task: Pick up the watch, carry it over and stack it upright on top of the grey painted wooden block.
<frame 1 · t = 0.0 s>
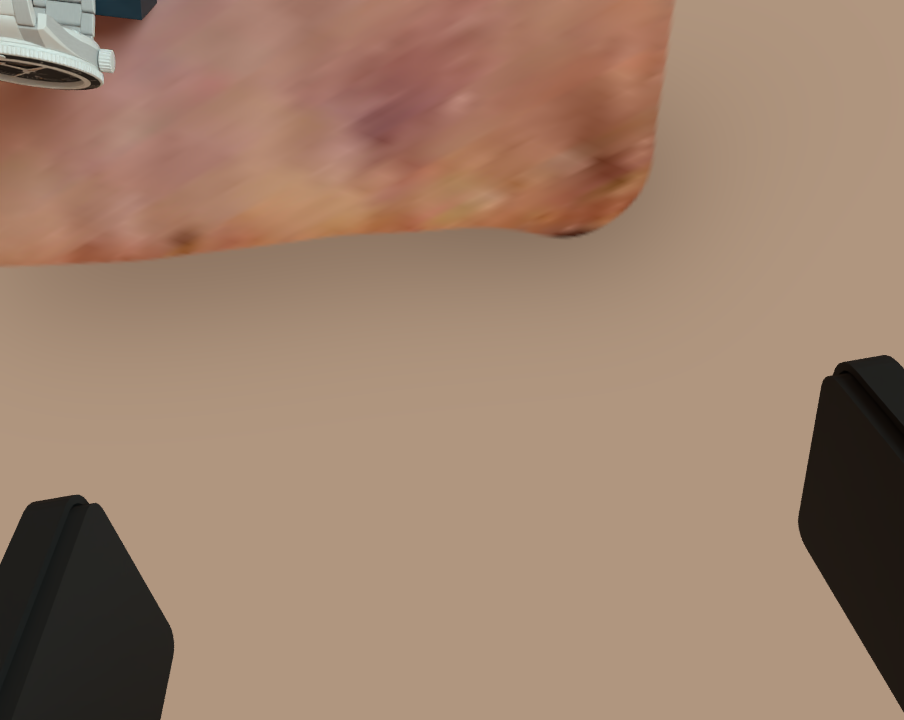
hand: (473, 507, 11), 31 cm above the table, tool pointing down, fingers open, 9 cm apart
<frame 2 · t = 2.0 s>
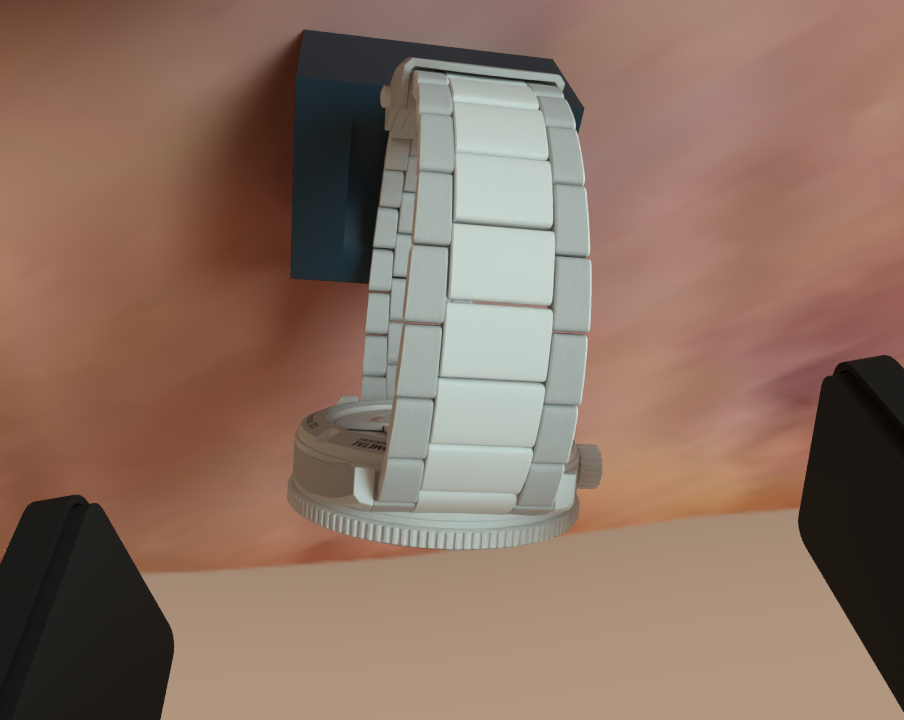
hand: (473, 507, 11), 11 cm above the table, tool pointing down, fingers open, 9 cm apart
watch: (420, 140, 19), on the table
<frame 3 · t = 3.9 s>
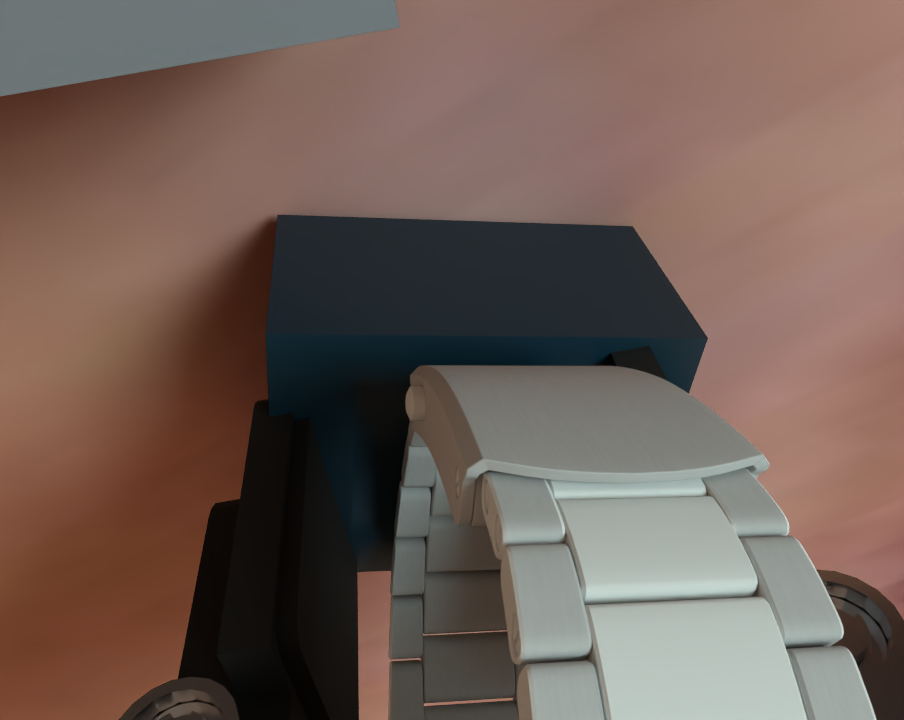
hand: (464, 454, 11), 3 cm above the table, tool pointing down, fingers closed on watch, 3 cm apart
watch: (448, 335, 14), on the table, touching gripper
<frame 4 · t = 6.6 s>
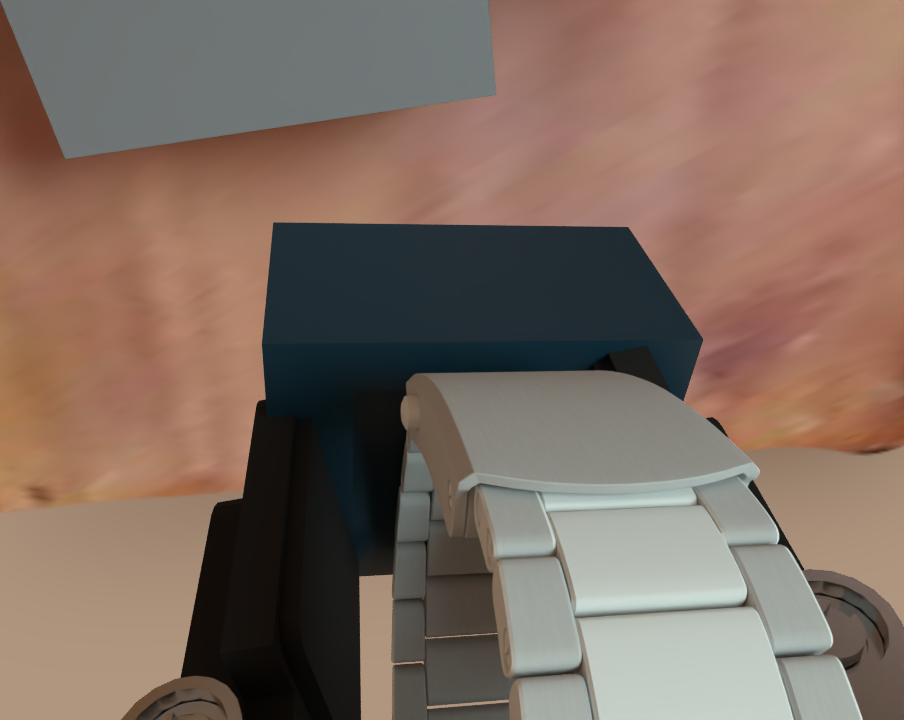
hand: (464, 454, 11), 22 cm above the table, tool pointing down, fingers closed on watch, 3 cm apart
watch: (446, 338, 14), point 19 cm above the table, touching gripper
when the fingers open (10 cm above the table, at t = 9.7 s): watch drops 1 cm, resting on base block.
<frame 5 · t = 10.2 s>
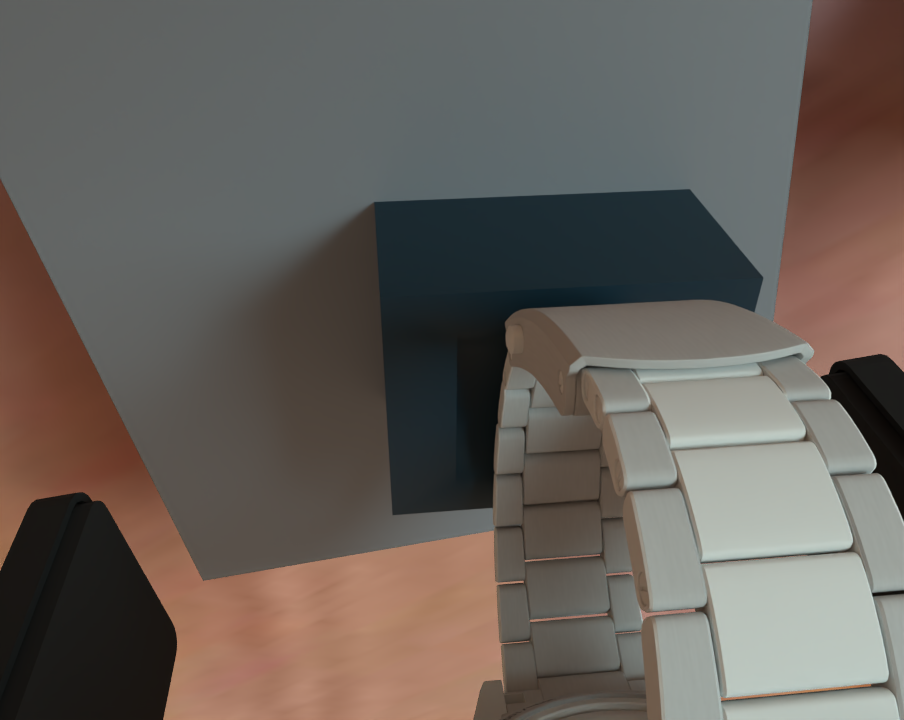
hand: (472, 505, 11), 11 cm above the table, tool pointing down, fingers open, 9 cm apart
watch: (527, 300, 15), point 6 cm above the table, touching base block
base block: (416, 171, 20), on the table
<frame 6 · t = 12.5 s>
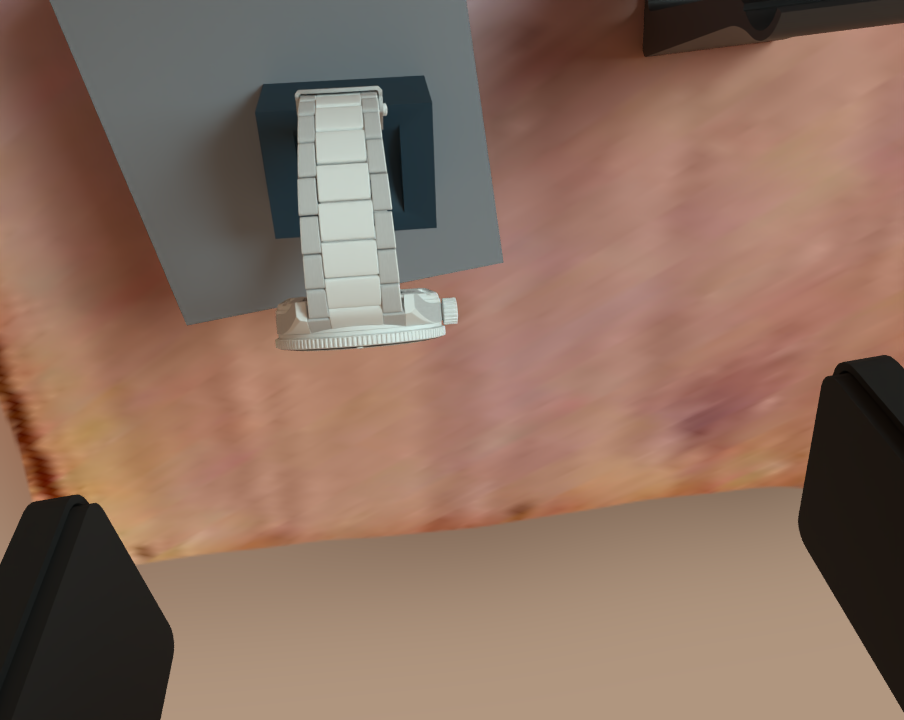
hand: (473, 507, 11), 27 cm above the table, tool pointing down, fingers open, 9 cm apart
watch: (351, 141, 29), point 6 cm above the table, touching base block
base block: (308, 90, 34), on the table
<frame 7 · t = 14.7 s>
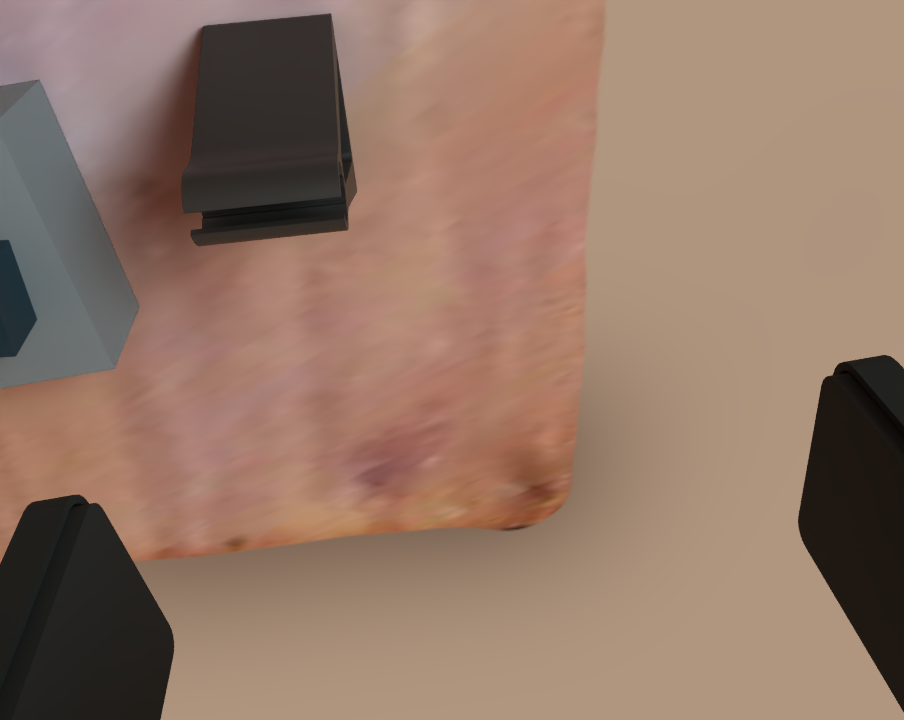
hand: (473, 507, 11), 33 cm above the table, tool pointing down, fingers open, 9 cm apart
phone stand: (286, 110, 41), on the table
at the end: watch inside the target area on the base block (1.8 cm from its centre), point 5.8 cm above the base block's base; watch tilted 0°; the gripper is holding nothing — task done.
